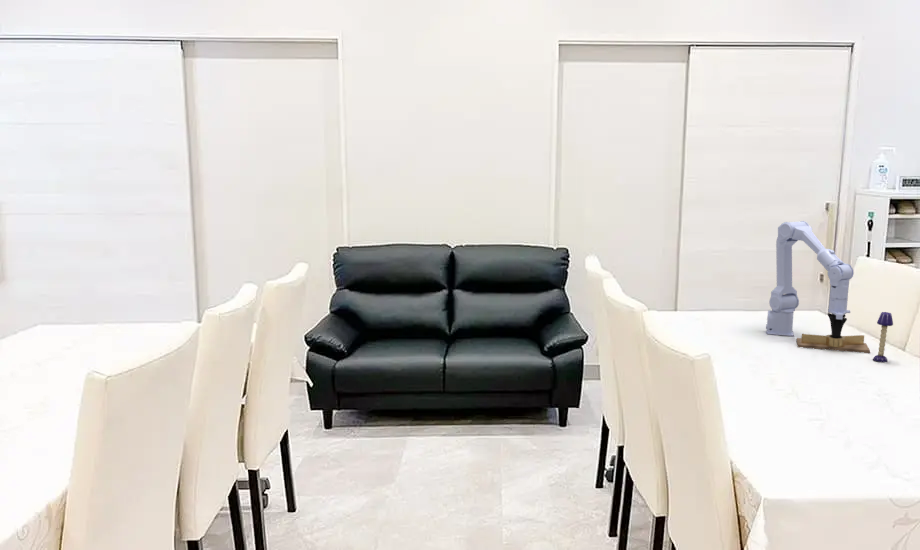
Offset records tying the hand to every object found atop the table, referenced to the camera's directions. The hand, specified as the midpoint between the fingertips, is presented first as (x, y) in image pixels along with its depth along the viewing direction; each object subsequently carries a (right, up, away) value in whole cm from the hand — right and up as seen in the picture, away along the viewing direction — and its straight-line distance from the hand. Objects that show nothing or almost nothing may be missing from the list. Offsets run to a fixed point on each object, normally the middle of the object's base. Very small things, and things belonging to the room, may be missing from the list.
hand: (835, 335), depth 262 cm
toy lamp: (+7, -8, -16) cm, 19 cm away
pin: (0, -2, 0) cm, 2 cm away
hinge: (0, -3, +2) cm, 4 cm away
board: (0, -4, +3) cm, 5 cm away
